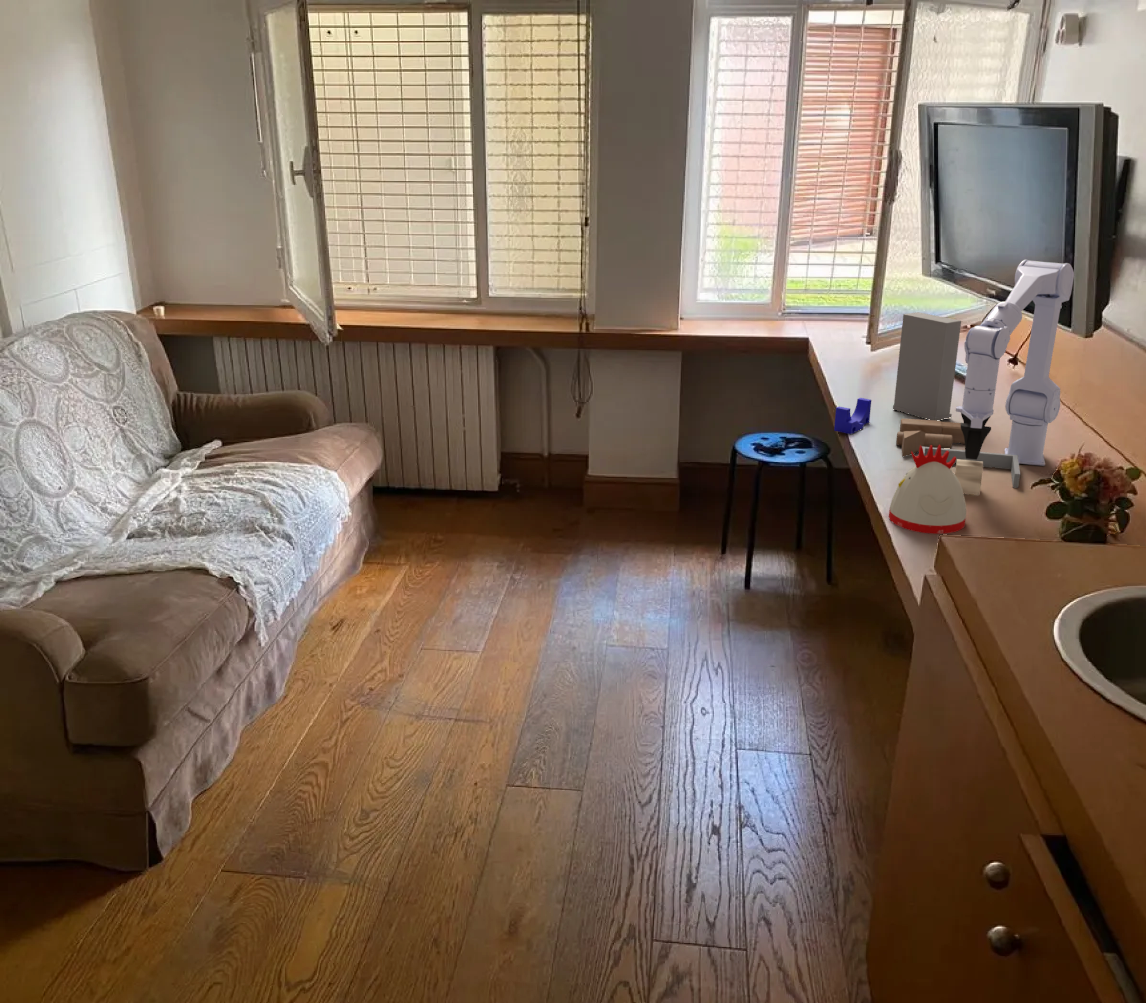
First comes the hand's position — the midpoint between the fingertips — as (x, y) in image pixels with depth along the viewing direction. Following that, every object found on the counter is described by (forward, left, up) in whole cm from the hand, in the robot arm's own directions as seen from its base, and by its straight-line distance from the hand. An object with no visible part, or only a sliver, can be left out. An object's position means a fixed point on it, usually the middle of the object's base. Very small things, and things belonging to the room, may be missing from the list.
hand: (971, 452), depth 206 cm
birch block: (0, 0, -8) cm, 8 cm away
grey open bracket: (-11, 0, -8) cm, 14 cm away
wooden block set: (-28, -7, -9) cm, 30 cm away
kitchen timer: (+19, -7, -8) cm, 22 cm away
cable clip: (-39, -26, -9) cm, 48 cm away
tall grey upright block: (-55, -11, -8) cm, 57 cm away
